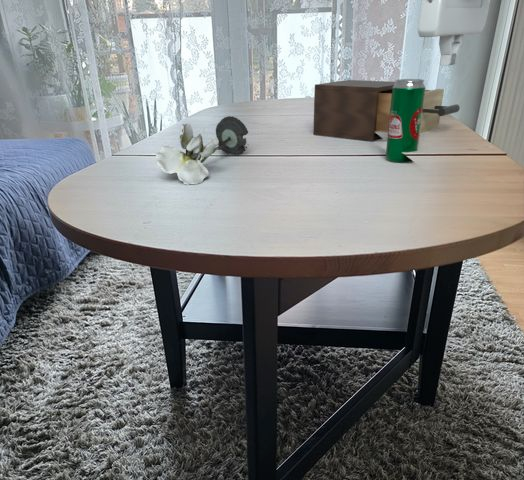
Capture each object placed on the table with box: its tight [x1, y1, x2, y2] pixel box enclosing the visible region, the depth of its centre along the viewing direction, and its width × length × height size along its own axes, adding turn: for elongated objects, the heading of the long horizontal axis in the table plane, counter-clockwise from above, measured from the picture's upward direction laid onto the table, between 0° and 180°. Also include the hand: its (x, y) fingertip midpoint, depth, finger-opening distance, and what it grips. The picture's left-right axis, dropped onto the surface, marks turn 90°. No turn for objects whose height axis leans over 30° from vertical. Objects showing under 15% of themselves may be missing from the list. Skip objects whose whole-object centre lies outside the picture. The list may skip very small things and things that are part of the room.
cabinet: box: [312, 79, 396, 143], centre depth 106 cm, size 15×13×10 cm
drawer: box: [375, 88, 461, 134], centre depth 100 cm, size 18×11×8 cm, turn 49°
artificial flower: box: [155, 115, 249, 186], centre depth 82 cm, size 9×22×10 cm, turn 155°
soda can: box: [385, 78, 426, 164], centre depth 82 cm, size 5×5×12 cm
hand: (447, 65), depth 92 cm, fingers closed
